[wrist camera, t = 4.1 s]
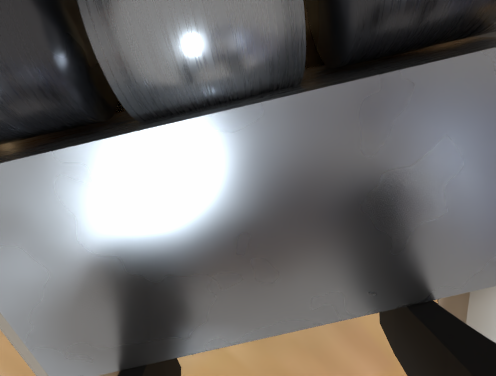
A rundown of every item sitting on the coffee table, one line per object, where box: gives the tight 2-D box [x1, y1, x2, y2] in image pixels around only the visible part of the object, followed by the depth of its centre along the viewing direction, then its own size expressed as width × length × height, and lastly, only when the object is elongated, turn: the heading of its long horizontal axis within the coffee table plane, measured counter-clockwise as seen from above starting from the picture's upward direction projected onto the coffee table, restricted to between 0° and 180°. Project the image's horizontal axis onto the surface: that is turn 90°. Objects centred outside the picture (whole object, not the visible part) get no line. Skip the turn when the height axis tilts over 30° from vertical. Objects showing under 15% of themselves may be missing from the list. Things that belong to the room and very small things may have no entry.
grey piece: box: [0, 0, 496, 376], centre depth 8 cm, size 12×9×3 cm
